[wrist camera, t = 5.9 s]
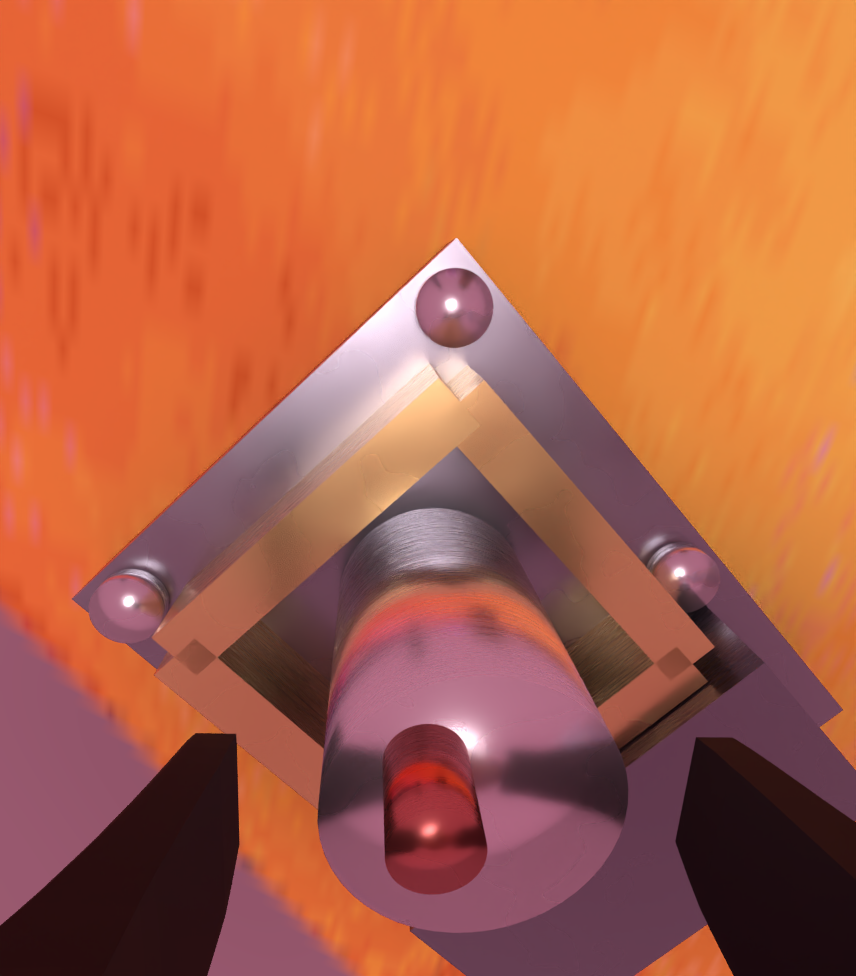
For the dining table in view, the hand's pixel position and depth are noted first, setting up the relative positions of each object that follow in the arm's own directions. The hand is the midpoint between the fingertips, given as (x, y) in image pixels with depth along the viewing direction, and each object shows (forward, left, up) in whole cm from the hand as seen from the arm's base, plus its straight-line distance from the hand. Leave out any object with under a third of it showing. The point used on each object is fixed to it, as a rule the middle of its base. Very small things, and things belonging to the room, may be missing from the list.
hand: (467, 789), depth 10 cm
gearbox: (-2, 0, -8) cm, 9 cm away
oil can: (0, 0, -6) cm, 6 cm away
